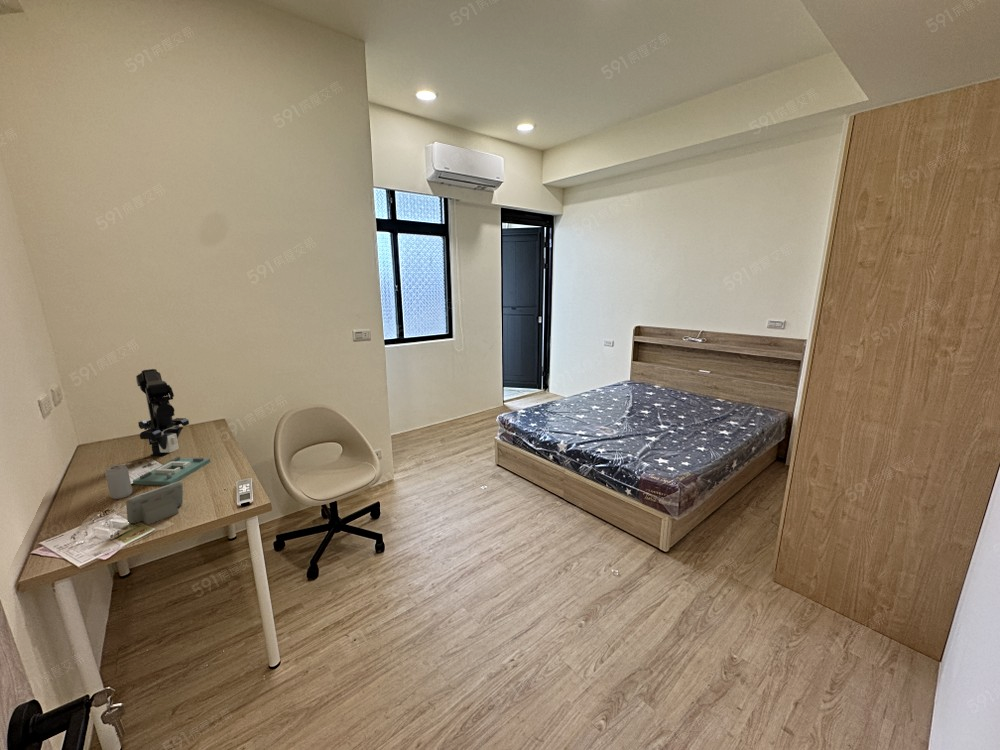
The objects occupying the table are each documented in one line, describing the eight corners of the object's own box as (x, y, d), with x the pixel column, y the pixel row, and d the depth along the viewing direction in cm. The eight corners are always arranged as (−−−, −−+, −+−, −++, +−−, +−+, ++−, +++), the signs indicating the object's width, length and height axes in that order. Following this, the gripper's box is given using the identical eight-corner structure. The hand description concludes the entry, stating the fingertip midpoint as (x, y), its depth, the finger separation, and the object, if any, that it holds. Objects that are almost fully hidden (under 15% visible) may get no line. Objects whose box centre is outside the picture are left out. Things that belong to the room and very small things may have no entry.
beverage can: (129, 490, 162) (123, 462, 159) (135, 494, 158) (129, 466, 156) (108, 497, 156) (101, 468, 154) (114, 501, 153) (107, 472, 150)
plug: (168, 448, 177) (165, 432, 175) (181, 448, 176) (178, 432, 175) (160, 452, 172) (156, 436, 171) (172, 452, 172) (169, 436, 170)
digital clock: (184, 502, 153) (179, 476, 151) (189, 511, 147) (184, 485, 145) (127, 520, 141) (120, 493, 139) (130, 531, 135) (123, 502, 133)
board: (177, 461, 188) (175, 454, 187) (210, 461, 187) (209, 455, 186) (133, 484, 166) (131, 476, 166) (171, 485, 166) (169, 477, 165)
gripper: (162, 405, 180) (169, 438, 183) (123, 419, 162) (130, 455, 165) (187, 406, 179) (192, 438, 183) (150, 420, 161) (157, 456, 165)
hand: (169, 447), depth 174 cm, fingers closed on plug, 4 cm apart
